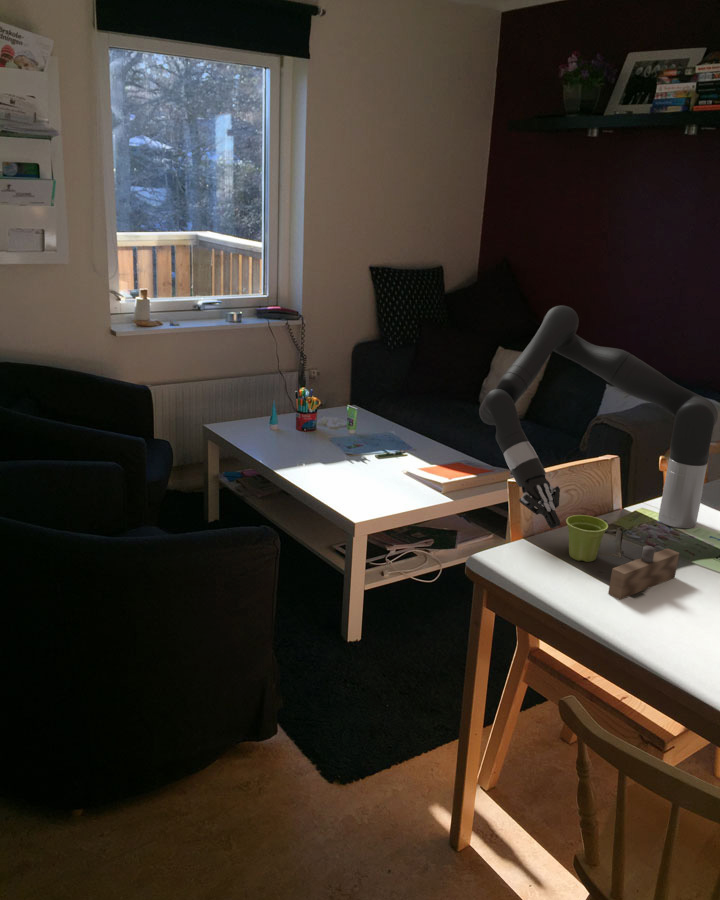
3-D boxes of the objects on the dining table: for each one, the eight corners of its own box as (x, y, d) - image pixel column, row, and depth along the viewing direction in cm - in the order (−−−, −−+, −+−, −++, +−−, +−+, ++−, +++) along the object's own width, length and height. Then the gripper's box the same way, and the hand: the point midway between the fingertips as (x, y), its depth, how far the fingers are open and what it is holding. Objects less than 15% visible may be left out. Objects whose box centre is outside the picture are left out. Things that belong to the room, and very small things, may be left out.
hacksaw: (598, 522, 210) (599, 517, 209) (639, 530, 206) (640, 524, 206) (591, 559, 188) (591, 553, 187) (636, 568, 185) (637, 562, 184)
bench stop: (663, 572, 182) (669, 535, 180) (674, 577, 180) (681, 540, 177) (608, 593, 171) (614, 555, 168) (619, 599, 169) (626, 561, 166)
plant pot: (583, 568, 182) (588, 533, 179) (553, 552, 189) (557, 518, 187) (611, 560, 187) (616, 526, 184) (581, 545, 194) (586, 512, 192)
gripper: (533, 466, 205) (564, 527, 200) (496, 475, 198) (527, 538, 192) (551, 452, 199) (584, 515, 194) (514, 461, 192) (547, 526, 186)
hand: (556, 526), depth 193 cm, fingers closed
